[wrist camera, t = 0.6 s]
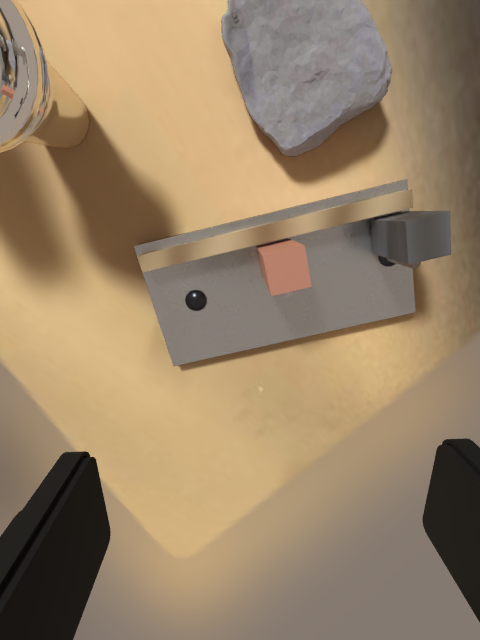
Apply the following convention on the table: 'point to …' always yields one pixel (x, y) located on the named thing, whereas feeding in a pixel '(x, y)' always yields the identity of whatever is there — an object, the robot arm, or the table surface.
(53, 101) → the domed lid cup
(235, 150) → the table surface
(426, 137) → the table surface
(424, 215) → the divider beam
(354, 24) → the stone block
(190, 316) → the bolt plate
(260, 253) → the block
